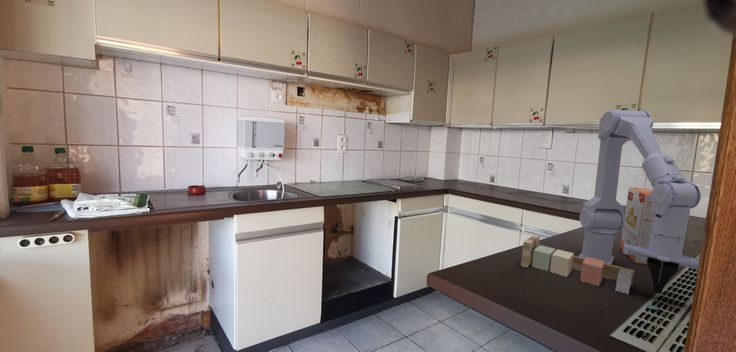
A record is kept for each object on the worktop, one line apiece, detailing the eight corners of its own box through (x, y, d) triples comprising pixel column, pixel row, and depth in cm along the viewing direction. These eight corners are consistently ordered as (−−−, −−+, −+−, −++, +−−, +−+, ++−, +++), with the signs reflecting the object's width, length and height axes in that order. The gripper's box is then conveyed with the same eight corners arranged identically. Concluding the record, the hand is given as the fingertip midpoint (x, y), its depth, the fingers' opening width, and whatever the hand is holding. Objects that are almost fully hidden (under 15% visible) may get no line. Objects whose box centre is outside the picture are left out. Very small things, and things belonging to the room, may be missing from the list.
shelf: (532, 256, 100) (534, 234, 99) (632, 283, 84) (636, 257, 83) (520, 266, 92) (523, 242, 91) (629, 298, 76) (633, 269, 75)
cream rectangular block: (555, 266, 94) (557, 249, 93) (571, 270, 91) (573, 253, 90) (549, 272, 89) (552, 254, 88) (566, 277, 86) (569, 259, 86)
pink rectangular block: (584, 274, 89) (586, 256, 88) (602, 279, 86) (605, 261, 85) (579, 281, 84) (582, 262, 84) (598, 287, 82) (601, 267, 81)
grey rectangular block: (617, 283, 84) (620, 268, 84) (630, 286, 83) (632, 271, 82) (615, 291, 80) (617, 275, 79) (628, 295, 78) (630, 279, 78)
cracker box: (618, 248, 111) (628, 186, 108) (640, 251, 109) (651, 188, 106) (632, 263, 98) (643, 193, 95) (657, 267, 96) (670, 196, 93)
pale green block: (537, 261, 96) (539, 245, 96) (553, 265, 94) (555, 248, 93) (531, 267, 92) (533, 250, 91) (547, 271, 89) (550, 254, 89)
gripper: (625, 230, 77) (616, 286, 79) (715, 247, 67) (702, 310, 69) (628, 225, 82) (619, 277, 84) (711, 239, 72) (700, 298, 74)
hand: (657, 291), depth 77 cm, fingers closed
